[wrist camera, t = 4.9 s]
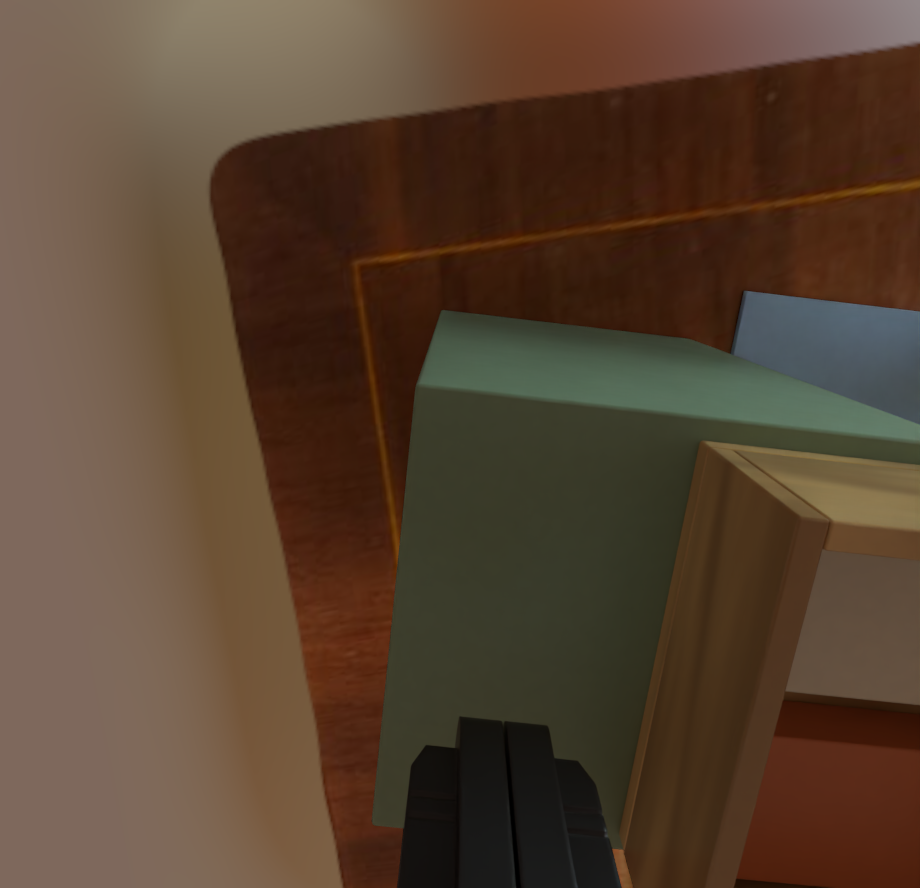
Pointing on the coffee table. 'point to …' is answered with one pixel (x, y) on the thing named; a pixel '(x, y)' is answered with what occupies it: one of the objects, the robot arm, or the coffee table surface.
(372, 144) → the coffee table surface
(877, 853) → the block
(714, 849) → the open wooden box
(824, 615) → the block
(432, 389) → the dark green box
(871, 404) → the mat
